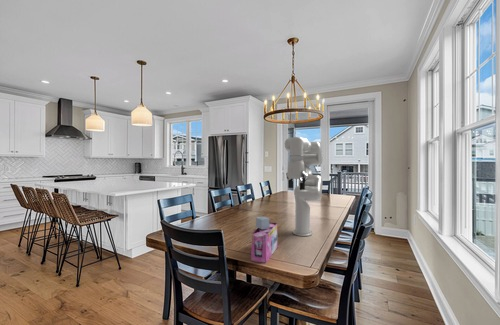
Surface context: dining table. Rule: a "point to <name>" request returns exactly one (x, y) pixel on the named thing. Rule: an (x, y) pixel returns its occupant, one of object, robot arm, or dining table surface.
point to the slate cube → (262, 222)
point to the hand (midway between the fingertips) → (296, 188)
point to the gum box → (264, 243)
